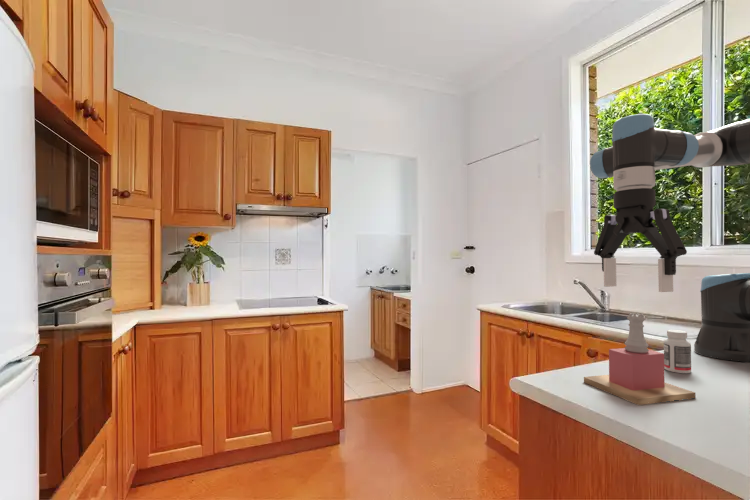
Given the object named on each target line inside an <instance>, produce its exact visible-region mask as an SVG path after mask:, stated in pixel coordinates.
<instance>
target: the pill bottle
mask: <svg viewBox="0 0 750 500" xmlns="http://www.w3.org/2000/svg"><path fill="white" fill-rule="evenodd" d="M666 337H667V338H665V339H664V340H663V353H664V370H666V371H668V372H671V373H672V372H673V373H677V374H690V373H691V372H692V344H691V342H690V341H689V340H687V338H688V332H687V331H685V330H680V329H668V330H666Z"/></svg>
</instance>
